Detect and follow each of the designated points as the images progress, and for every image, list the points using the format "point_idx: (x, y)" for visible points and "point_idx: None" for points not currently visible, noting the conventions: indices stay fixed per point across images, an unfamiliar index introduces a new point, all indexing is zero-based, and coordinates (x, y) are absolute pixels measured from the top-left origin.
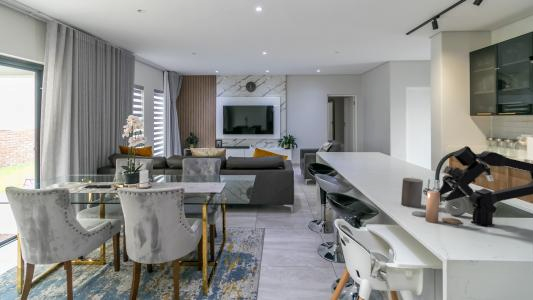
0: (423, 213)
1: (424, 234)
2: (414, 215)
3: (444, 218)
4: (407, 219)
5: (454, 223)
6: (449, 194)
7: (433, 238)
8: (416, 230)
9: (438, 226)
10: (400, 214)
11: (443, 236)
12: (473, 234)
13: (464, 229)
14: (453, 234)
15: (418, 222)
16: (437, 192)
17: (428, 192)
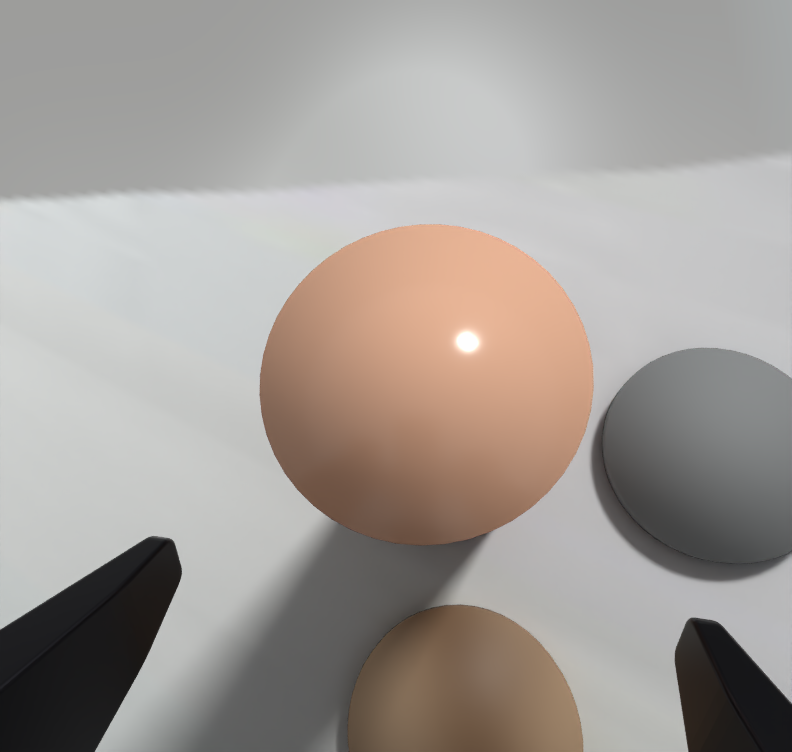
0: (733, 488)
1: (88, 245)
2: (657, 361)
3: (528, 674)
4: None
5: (352, 704)
6: (6, 645)
7: (4, 277)
8: (178, 218)
9: (274, 458)
10: (675, 225)
11: (28, 372)
12: None
13: (173, 706)
14: (56, 487)
15: None
16: (385, 467)
17: (389, 232)
